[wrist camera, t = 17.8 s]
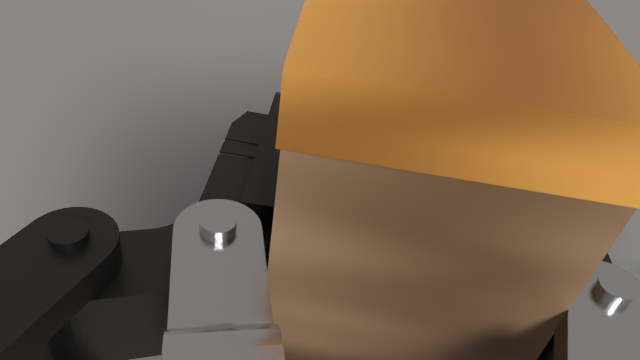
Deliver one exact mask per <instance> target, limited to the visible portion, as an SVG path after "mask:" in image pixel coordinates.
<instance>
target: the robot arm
mask: <svg viewBox="0 0 640 360" xmlns="http://www.w3.org/2000/svg"><path fill="white" fill-rule="evenodd" d="M280 96H281V93H279V92H276V94H275V97H274V99H273V103H272V106H271V109H270V112H269V115H266V114H260V113H254V112H248V111H247V112H246V113H245V114H243V115H242V116H241V117H239V118H238V119H237V120H235V121H234V122H233V123H232V124H231V127H230V129H229V131H228V134H227V136H226V139H225V142H224V143H223V145H222V148H221V150H220V155H218V157H217V160H216V162H215V165H214V167H213V169H212V172H211V175H210V177H209V179H208V181H207V184H206V187H205V189H204V191H203V193H202V196H201V198H200V201H199V202H197V203H195V204H193V205H190V206H189V207H187V208H186V209H184V210H183V211H182V212H181V213H180V214H179V215H178V217H177V218H176V220H175V222H174V224H171V225H169V226H165V227H161V228H156V229H147V230H134V231H121V232H119V228H118V226H117V224H116V222H115V221H114V220H113V218H111V217H110V216H109V215H108V214H106V213H104V212H102V211H99V210H97V209H92V208H85V207H70V208H63V209H59V210H55V211H52V212H50V213H47V214H45V215H43V216H41V217H39V218H37V219H36V220H34V221H33V222H32V223H30V224H29V225H28V226H26V227H25V228H23V229H22V230H21V231H19V232H18V233H16V234H15V235H14V236H12V237H11V238H10V239H8V240H7V241H6V242H4V243H3V244H1V245H0V360H128V359H135V358H142V357H149V356H157V355H162V360H285V355H284V348H283V340H282V334H281V330H280V327H279V325H278V324H274V322H273V316H272V308H271V299H270V291H269V282H268V274H267V271H268V262H269V252H270V243H271V233H272V224H273V214H274V205H275V195H276V185H277V176H278V166H279V157H280V149H275V147H276V137H277V126H278V116H279V106H280ZM537 360H640V280H639V279H638V278H637V277H635V276H634V275H633V274H631V273H629V272H628V271H626V270H624V269H622V268H620V267H618V266H616V265H614V264H612V262H611V260H610V257H609V255H608V253H607V254H606V255H605V257H604V259H603V260H602V262H601V263H600V265H599V266H598V268H597V269H596V271H595V272H594V274H593V275H592V277H591V278H590V280H589V281H588V283H587V284H586V286H585V287H584V289H583V290H582V292H581V293H580V295H579V296H578V298H577V299H576V301H575V302H574V304H573V306H572V307H571V309H570V310H567V312H566V314H565V315H564V317H563V318H562V320H561V321H560V323H559V324H558V326H557V327H556V329H555V330H554V334H553V336H552V337H551V339H550V340H549V342H548V343H547V345H546V346H545V348H544V349H543V351H542V353H541V354H540V356H539V357H538V359H537Z"/></svg>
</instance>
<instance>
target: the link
mask: <svg viewBox="0 0 640 360" xmlns="http://www.w3.org/2000/svg"><path fill="white" fill-rule="evenodd" d="M275 149H280V157H279V166H278V176H277V185H276V195H275V205H274V214H273V224H272V233H271V243H270V252H269V262H268V271H267V274H268V282H269V291H270V299H271V308H272V316H273V322H274V324H278V325H279V327H280V330H281V334H282V340H283V348H284V355H285V360H537V359H538V357H539V356H540V354H541V353H542V351H543V349H544V348H545V346H546V345H547V343H548V342H549V340H550V339H551V337H552V336H553V334H554V330H555V329H556V327H557V326H558V324H559V323H560V321H561V320H562V318H563V317H564V315H565V314H566V312H567V310H570V309H571V307H572V306H573V304H574V302H575V301H576V299H577V298H578V296H579V295H580V293H581V292H582V290H583V289H584V287H585V286H586V284H587V283H588V281H589V280H590V278H591V277H592V275H593V274H594V272H595V271H596V269H597V268H598V266H599V265H600V263H601V262H602V260H603V259H604V257H605V255H606V254H607V252H608V251H609V249H610V248H611V246H612V245H613V243H614V242H615V240H616V239H617V237H618V236H619V234H620V233H621V231H622V230H623V228H624V227H625V225H626V224H627V222H628V220H629V219H630V218H631V216H632V214H633V213H634V211H635V210H636V208H638V209H640V65H639V64H638V63H637V62H636V60H635V59H634V58H633V57H632V55H631V54H630V53H629V52H628V50H627V49H626V48H625V47H624V45H623V44H622V43H621V42H620V40H619V39H618V38H617V37H616V35H615V34H614V33H613V32H612V30H611V29H610V28H609V27H608V25H607V24H606V23H605V22H604V21H603V19H602V18H601V17H600V16H599V14H598V13H597V12H596V11H595V9H594V8H593V7H592V6H591V4H590V3H589V2H588V1H587V0H305V3H304V6H303V9H302V12H301V15H300V19H299V21H298V24H297V27H296V30H295V33H294V36H293V39H292V42H291V45H290V48H289V51H288V54H287V57H286V60H285V63H284V66H283V76H282V86H281V96H280V106H279V116H278V126H277V137H276V147H275Z"/></svg>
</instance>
